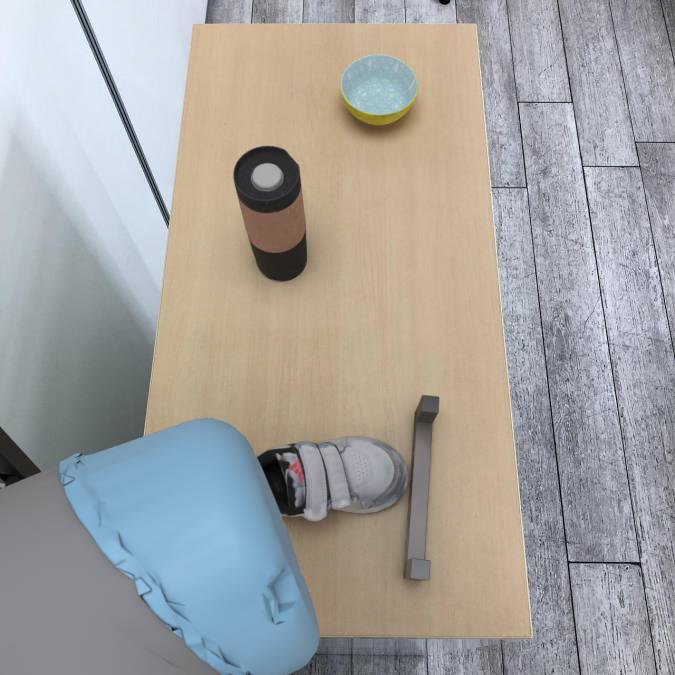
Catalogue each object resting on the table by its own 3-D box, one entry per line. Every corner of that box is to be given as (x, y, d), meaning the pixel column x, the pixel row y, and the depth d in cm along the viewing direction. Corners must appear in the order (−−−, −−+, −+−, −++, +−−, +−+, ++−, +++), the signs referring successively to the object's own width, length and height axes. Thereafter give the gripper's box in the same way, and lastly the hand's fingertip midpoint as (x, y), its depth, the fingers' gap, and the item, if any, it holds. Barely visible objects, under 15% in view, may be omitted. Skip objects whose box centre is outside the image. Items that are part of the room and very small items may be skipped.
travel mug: (250, 279, 87) (225, 197, 69) (260, 232, 90) (239, 140, 71) (304, 286, 87) (294, 205, 68) (313, 238, 90) (305, 148, 71)
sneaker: (411, 518, 76) (421, 509, 66) (248, 533, 75) (235, 526, 66) (400, 433, 79) (408, 413, 70) (245, 447, 79) (232, 429, 69)
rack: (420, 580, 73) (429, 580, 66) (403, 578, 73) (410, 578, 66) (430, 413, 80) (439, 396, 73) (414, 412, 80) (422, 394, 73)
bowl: (396, 153, 95) (399, 125, 89) (327, 126, 97) (326, 97, 91) (425, 99, 99) (430, 69, 93) (358, 74, 100) (360, 43, 95)
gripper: (-189, 344, 30) (33, 445, 52) (-321, 642, 26) (-16, 615, 48) (-38, 361, 30) (121, 455, 52) (-144, 665, 25) (81, 627, 47)
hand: (56, 531), depth 50 cm, fingers closed
